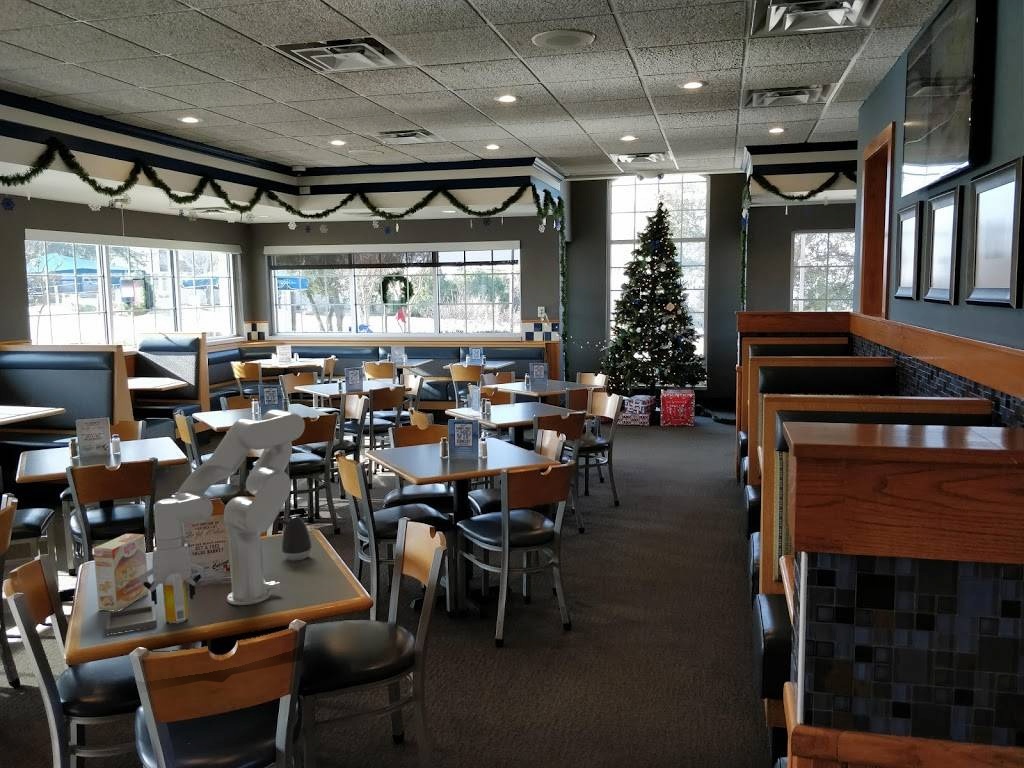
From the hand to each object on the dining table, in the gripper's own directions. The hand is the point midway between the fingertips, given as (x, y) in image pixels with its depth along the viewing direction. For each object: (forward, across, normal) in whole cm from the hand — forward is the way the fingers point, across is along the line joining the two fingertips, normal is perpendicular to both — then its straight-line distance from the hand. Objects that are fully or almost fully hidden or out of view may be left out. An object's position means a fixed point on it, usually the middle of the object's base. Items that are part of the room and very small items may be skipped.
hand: (173, 600), depth 245 cm
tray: (+6, +11, -4) cm, 14 cm away
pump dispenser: (+5, -42, -39) cm, 57 cm away
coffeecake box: (+6, +13, -23) cm, 28 cm away
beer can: (+6, -1, 0) cm, 6 cm away
